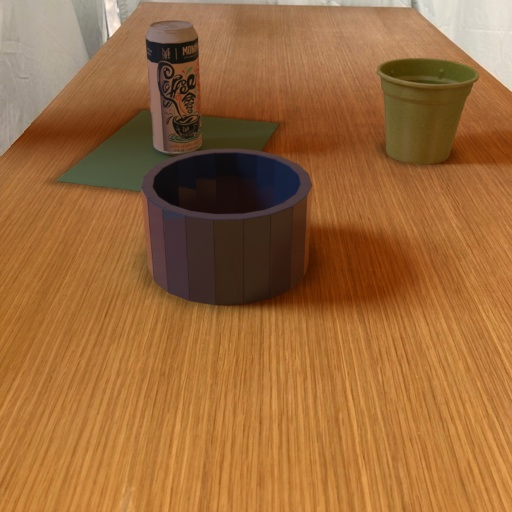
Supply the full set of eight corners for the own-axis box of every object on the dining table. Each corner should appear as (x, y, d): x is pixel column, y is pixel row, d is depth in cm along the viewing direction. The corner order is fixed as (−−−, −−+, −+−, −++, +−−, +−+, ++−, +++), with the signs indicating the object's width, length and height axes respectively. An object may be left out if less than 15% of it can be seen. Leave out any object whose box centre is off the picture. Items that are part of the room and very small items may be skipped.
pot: (123, 296, 48) (112, 206, 44) (181, 220, 57) (177, 141, 54) (287, 323, 45) (291, 229, 42) (320, 239, 55) (325, 157, 51)
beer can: (172, 162, 66) (164, 33, 60) (144, 148, 69) (134, 24, 63) (211, 150, 69) (208, 25, 63) (183, 136, 72) (177, 17, 66)
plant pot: (351, 146, 71) (358, 62, 67) (427, 134, 75) (439, 53, 70) (402, 182, 64) (414, 89, 60) (484, 166, 67) (501, 77, 63)
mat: (56, 186, 63) (55, 180, 62) (143, 115, 79) (143, 110, 79) (225, 207, 59) (225, 201, 59) (279, 128, 76) (279, 123, 76)
